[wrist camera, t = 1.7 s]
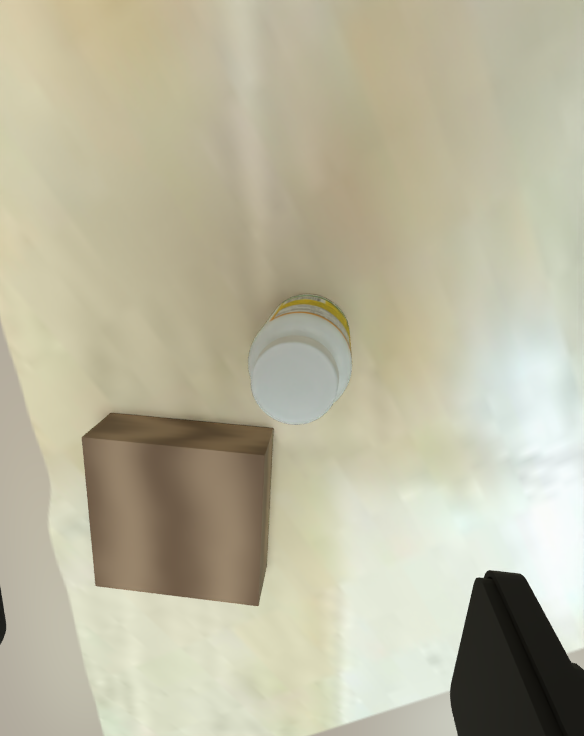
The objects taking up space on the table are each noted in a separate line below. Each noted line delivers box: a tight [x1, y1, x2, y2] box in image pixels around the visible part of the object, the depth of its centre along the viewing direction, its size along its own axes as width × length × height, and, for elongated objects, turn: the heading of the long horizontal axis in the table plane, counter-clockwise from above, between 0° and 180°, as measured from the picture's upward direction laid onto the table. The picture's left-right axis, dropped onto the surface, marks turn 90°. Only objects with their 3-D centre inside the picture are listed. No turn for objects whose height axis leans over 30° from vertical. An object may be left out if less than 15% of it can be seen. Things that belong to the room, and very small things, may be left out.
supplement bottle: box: [248, 294, 352, 425], centre depth 26 cm, size 6×6×10 cm
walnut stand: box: [82, 413, 273, 606], centre depth 33 cm, size 12×12×4 cm
